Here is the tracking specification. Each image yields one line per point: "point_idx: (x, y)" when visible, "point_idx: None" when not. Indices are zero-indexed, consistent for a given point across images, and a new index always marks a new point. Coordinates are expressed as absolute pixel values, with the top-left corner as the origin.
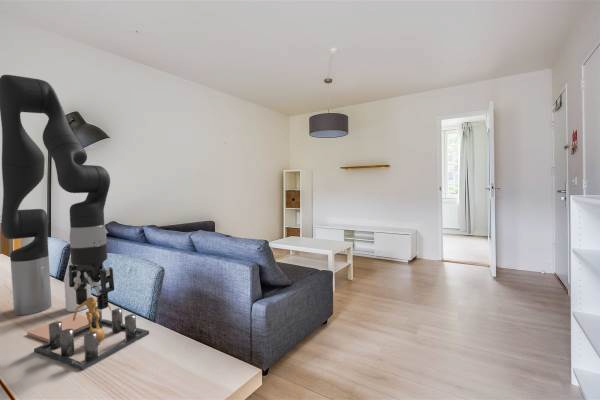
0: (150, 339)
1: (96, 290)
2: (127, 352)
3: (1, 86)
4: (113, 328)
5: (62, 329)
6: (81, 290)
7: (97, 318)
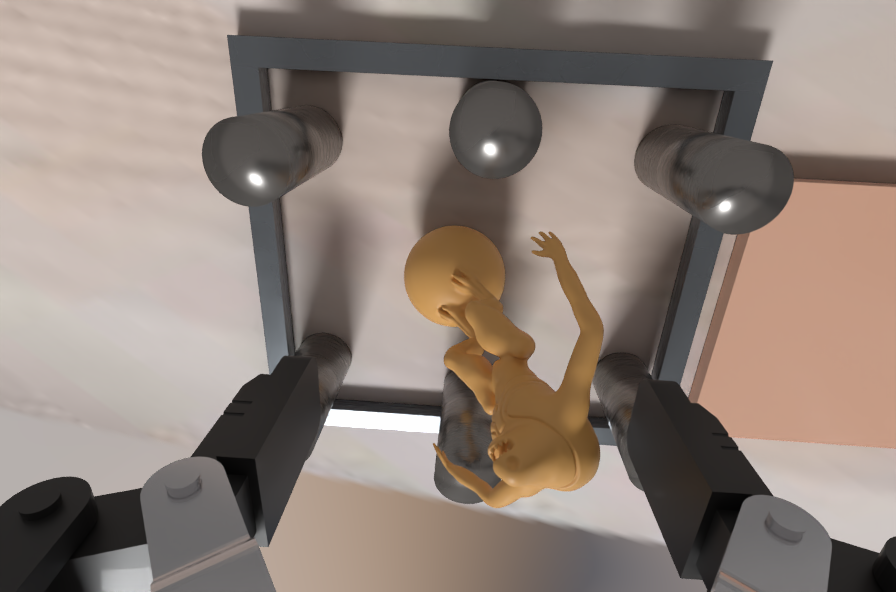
0: (222, 375)
1: (208, 515)
2: (202, 252)
3: None
4: None
5: (816, 295)
6: (693, 526)
7: (451, 349)
